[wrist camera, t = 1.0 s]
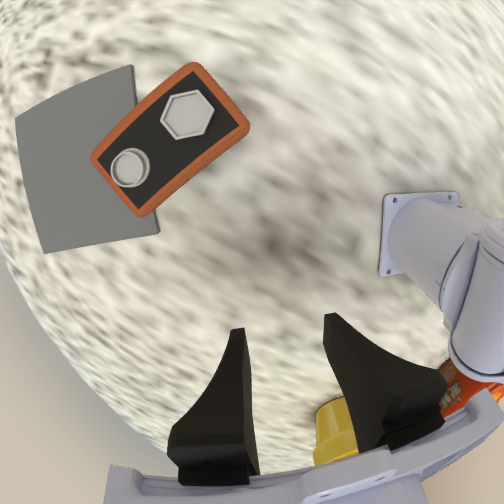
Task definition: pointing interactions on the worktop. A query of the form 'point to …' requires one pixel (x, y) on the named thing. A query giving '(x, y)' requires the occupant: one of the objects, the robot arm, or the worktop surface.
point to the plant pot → (334, 433)
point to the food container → (463, 389)
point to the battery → (168, 138)
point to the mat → (77, 165)
